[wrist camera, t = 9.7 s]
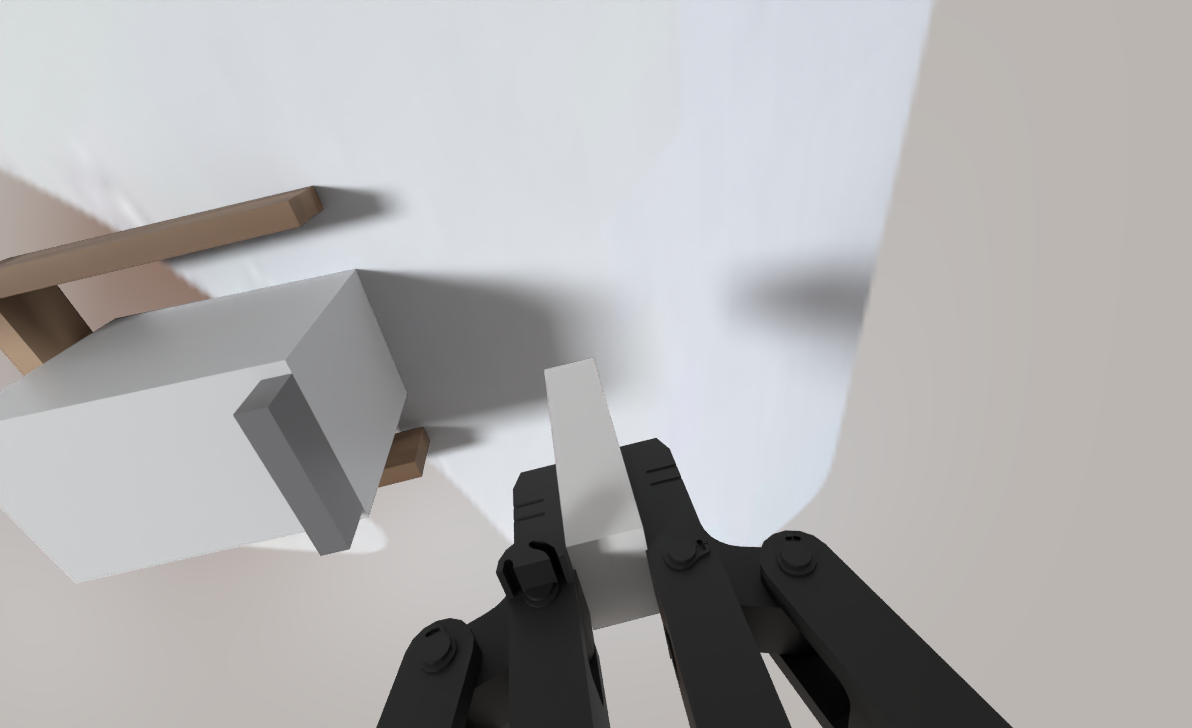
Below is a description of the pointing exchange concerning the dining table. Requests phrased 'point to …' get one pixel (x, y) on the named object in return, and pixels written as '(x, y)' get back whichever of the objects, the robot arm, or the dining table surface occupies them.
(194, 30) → the dining table surface
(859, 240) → the dining table surface
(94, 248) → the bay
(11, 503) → the grey box with ridge
